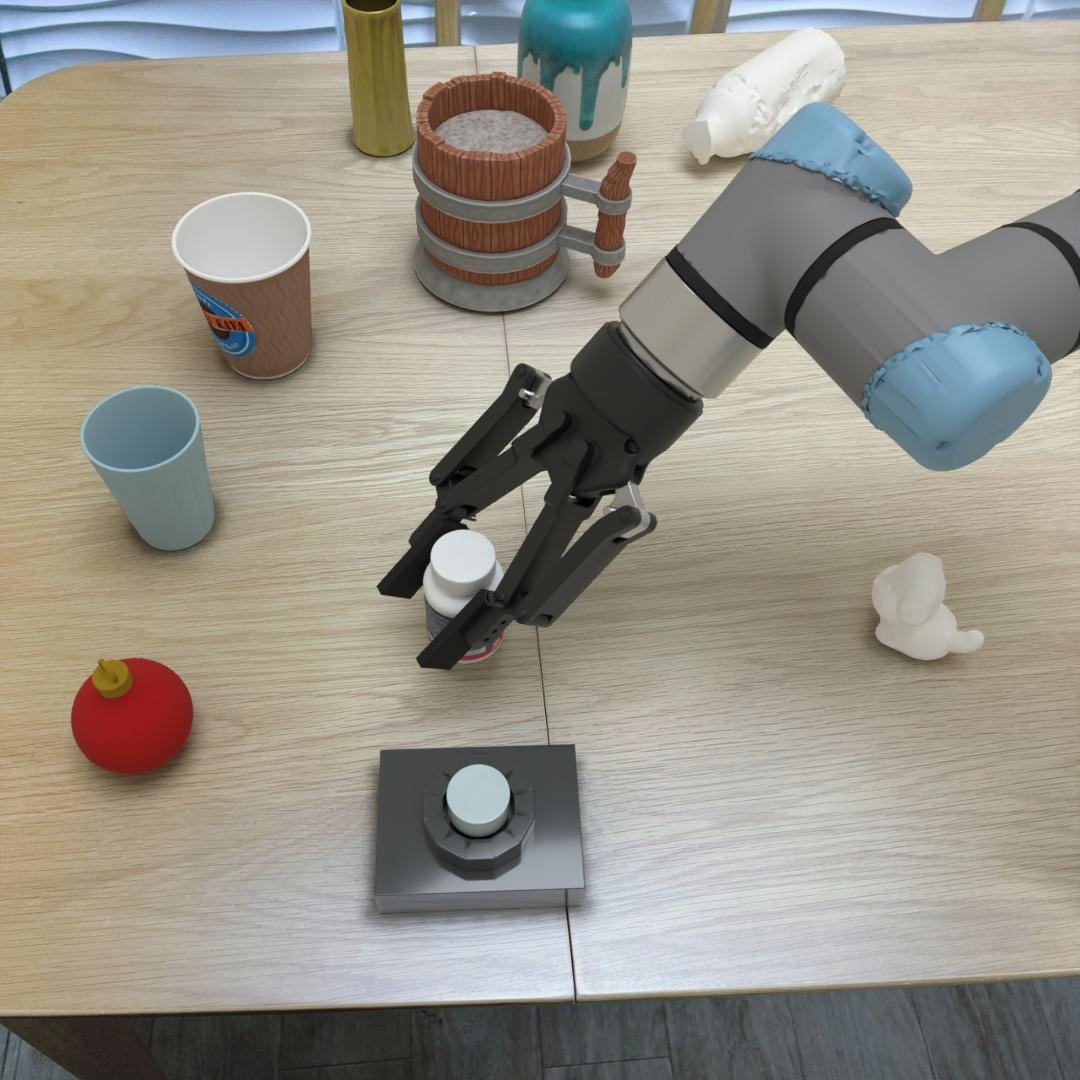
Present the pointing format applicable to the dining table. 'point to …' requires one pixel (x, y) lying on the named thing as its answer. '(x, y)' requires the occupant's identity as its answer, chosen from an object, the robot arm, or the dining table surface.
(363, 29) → the vase
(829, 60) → the white bottle
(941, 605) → the figurine
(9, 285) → the dining table surface
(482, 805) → the grey short cylinder
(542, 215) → the mug
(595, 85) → the vase
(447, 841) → the push button box
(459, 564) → the pill bottle
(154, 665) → the christmas ornament
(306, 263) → the coffee cup
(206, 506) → the cup
